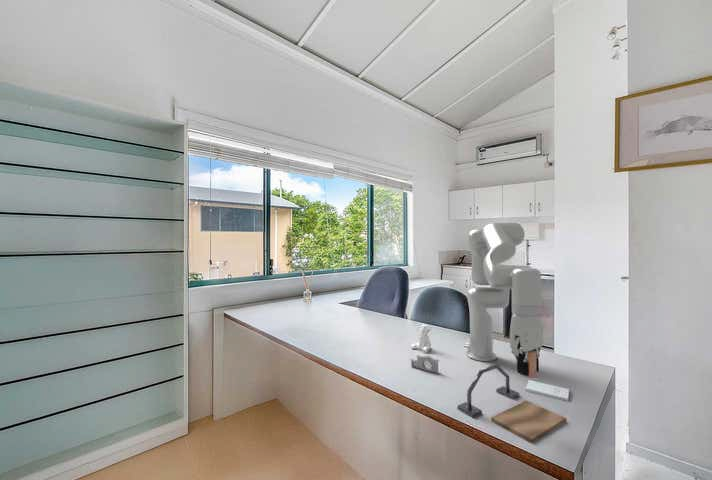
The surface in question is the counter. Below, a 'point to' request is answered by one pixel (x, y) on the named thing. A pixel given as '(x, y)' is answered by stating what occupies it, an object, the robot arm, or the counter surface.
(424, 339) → the seated beast figurine
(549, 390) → the external hard drive
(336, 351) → the counter surface
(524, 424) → the walnut board
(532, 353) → the peach domed cylinder
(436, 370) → the garden wall model
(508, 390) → the grey cabinet handle
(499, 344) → the counter surface
